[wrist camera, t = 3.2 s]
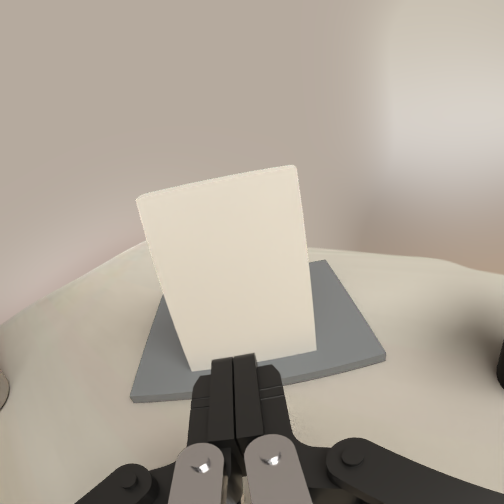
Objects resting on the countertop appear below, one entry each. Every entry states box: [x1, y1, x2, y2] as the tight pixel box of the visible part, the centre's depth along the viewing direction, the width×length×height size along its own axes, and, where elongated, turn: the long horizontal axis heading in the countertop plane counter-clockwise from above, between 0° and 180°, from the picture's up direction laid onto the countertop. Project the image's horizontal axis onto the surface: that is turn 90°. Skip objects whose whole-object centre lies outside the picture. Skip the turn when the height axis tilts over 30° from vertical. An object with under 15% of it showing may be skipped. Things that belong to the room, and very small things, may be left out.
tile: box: [135, 165, 317, 372], centre depth 22 cm, size 10×2×14 cm, turn 94°
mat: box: [130, 260, 386, 403], centre depth 30 cm, size 20×18×1 cm
